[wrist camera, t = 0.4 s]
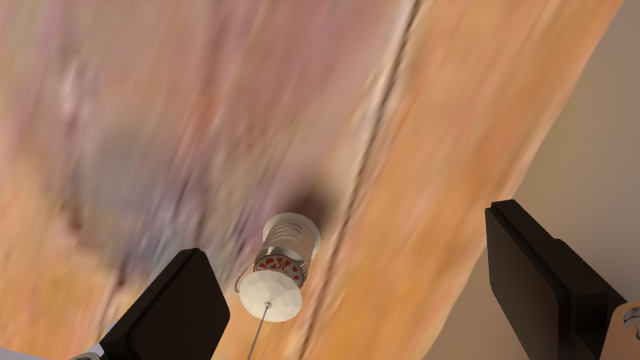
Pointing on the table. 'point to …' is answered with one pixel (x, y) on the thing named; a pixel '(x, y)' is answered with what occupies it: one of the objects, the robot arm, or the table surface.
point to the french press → (280, 269)
